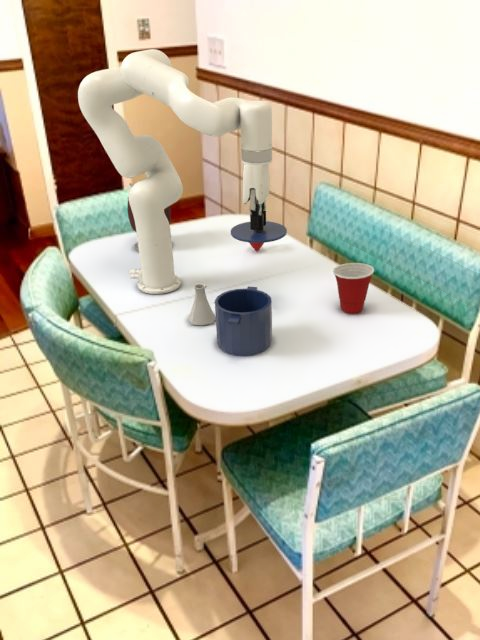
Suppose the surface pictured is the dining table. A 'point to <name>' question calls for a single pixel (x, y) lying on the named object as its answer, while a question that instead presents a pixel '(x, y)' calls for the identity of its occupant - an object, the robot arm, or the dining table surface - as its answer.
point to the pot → (244, 321)
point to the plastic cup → (353, 285)
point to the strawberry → (256, 246)
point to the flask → (201, 307)
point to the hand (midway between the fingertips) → (258, 226)
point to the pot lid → (258, 232)
